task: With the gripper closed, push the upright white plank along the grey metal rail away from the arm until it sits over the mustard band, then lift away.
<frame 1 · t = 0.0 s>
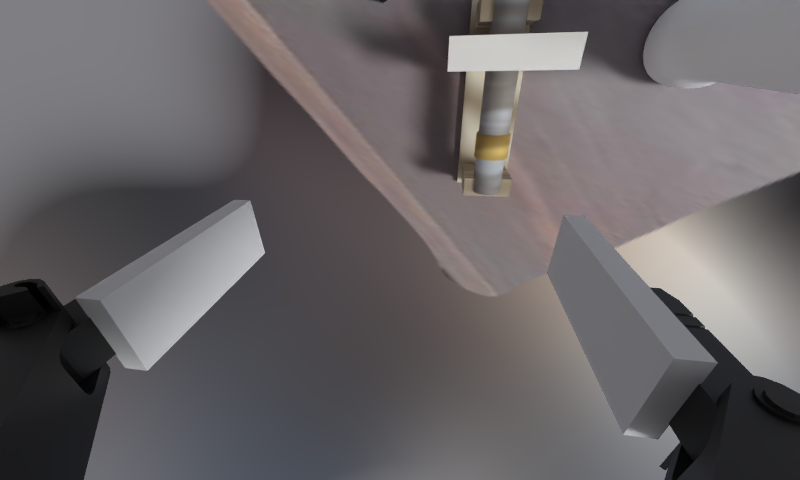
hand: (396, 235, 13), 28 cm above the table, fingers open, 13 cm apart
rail: (489, 102, 35), on the table
bottle: (683, 41, 30), on the table
upright white plank: (504, 55, 27), point 6 cm above the table, slide at 0.0 cm
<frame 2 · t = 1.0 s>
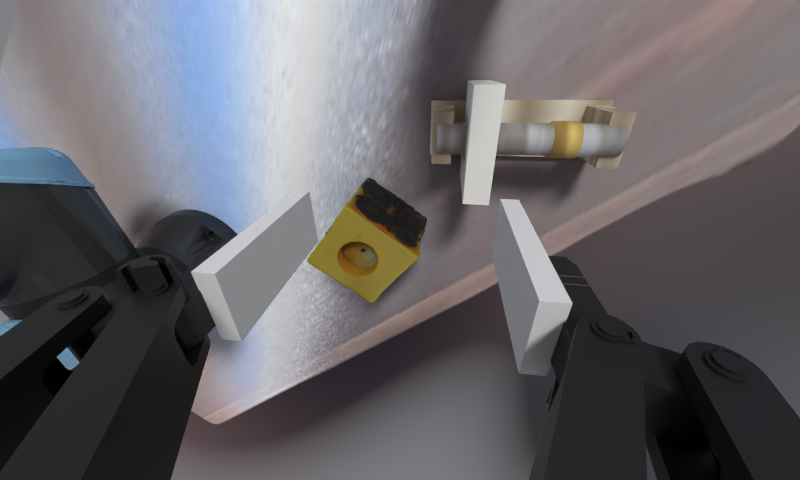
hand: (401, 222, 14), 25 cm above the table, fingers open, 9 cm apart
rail: (513, 128, 34), on the table
upright white plank: (477, 138, 30), point 6 cm above the table, slide at 0.0 cm
yellow cube with hole: (379, 221, 43), on the table
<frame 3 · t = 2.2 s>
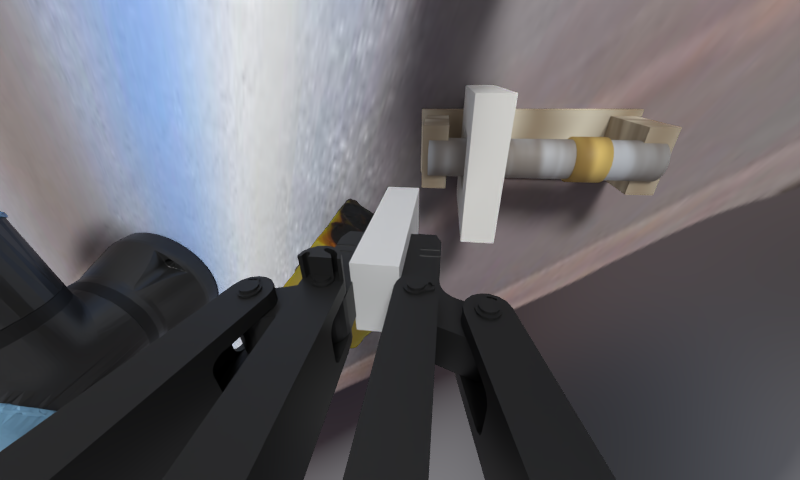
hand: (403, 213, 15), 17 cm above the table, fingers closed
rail: (520, 142, 29), on the table
upright white plank: (478, 157, 24), point 6 cm above the table, slide at 0.0 cm
yellow cube with hole: (363, 247, 37), on the table
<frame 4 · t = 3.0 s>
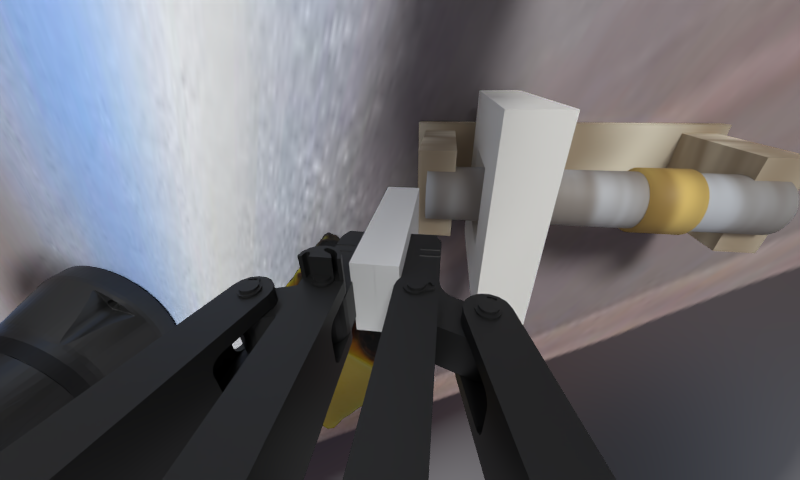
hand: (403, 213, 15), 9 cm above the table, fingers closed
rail: (551, 167, 21), on the table
upright white plank: (498, 195, 17), point 6 cm above the table, slide at 0.0 cm
yellow cube with hole: (347, 288, 30), on the table
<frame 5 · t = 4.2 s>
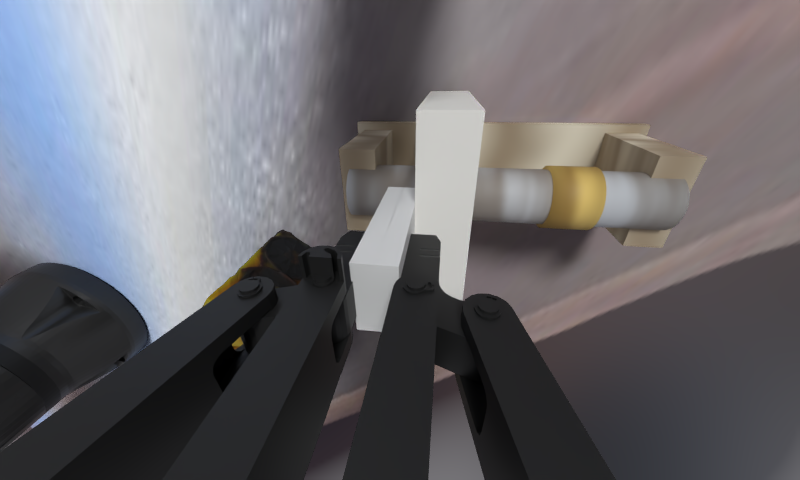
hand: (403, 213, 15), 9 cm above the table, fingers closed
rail: (487, 165, 22), on the table
upright white plank: (443, 193, 17), point 6 cm above the table, slide at 1.4 cm, touching gripper
yellow cube with hole: (306, 284, 31), on the table
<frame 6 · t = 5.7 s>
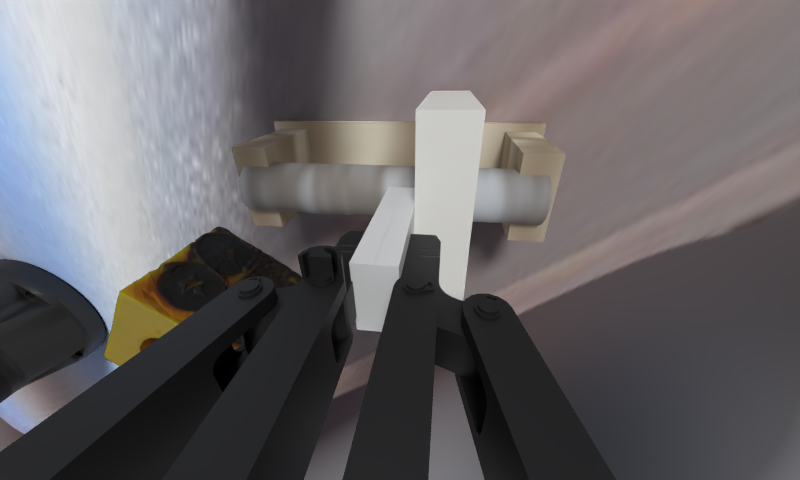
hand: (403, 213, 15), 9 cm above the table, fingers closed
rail: (403, 163, 23), on the table
upright white plank: (444, 193, 17), point 6 cm above the table, slide at 7.7 cm, touching gripper
yellow cube with hole: (250, 280, 32), on the table
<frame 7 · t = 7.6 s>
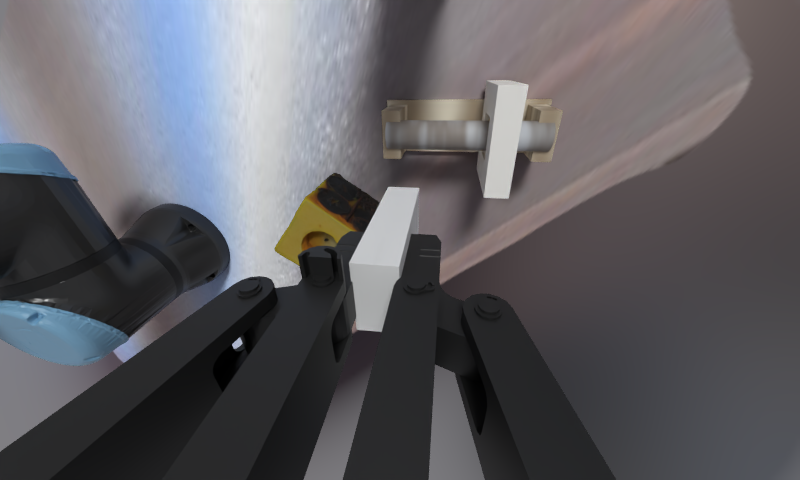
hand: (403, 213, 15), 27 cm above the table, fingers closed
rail: (464, 126, 37), on the table
upright white plank: (496, 135, 31), point 6 cm above the table, slide at 7.7 cm
yellow cube with hole: (347, 214, 46), on the table
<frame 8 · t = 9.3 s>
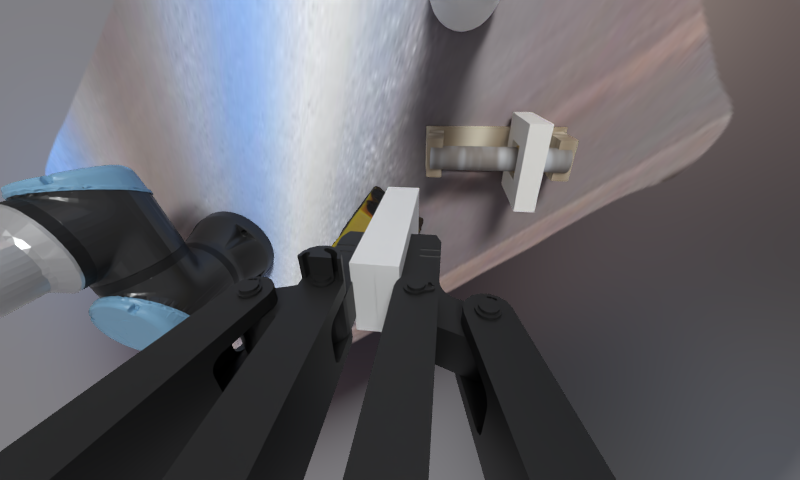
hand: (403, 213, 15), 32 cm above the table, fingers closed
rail: (491, 148, 43), on the table
upright white plank: (522, 159, 38), point 6 cm above the table, slide at 7.7 cm
yellow cube with hole: (384, 221, 52), on the table
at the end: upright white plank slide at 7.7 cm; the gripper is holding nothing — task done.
